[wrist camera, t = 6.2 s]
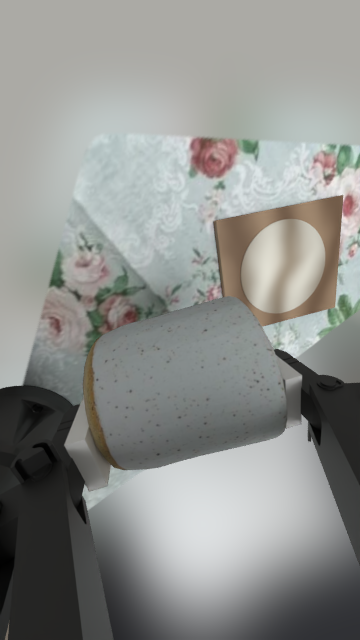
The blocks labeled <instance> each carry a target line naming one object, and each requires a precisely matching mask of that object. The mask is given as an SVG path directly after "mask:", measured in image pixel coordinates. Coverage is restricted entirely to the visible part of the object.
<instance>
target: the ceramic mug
mask: <svg viewBox="0 0 360 640" xmlns="http://www.w3.org/2000/svg"><path fill="white" fill-rule="evenodd" d="M83 394H84V403H85V411H86V416H87V421H88V425H89V428H90V431H91V434H92V437H93V439H94V442H95V444H96V447H97V448H98V450H99V451H100V453H101V454H102V456H103V457H104V458H105V459H106V460H107V462H109V463H110V464H111V465H112V466H113V467H114V468H118V469H122V470H139V469H151V468H158V467H162V466H165V465H169V464H172V463H175V462H179V461H183V460H186V459H190V458H194V457H198V456H201V455H205V454H210V453H214V452H219V451H223V450H228V449H232V448H237V447H241V446H245V445H249V444H253V443H258V442H262V441H266V440H269V439H273V438H276V437H278V436H279V435H281V434H282V433H283V432H284V430H285V428H286V424H287V414H288V412H287V400H286V395H285V389H284V383H283V378H282V374H281V370H280V367H279V363H278V359H277V357H276V354H275V352H274V349H273V347H272V345H271V343H270V341H269V339H268V338H267V336H266V334H265V332H264V330H263V328H262V326H261V324H260V322H259V321H258V319H257V317H256V316H255V315H254V314H253V313H252V312H251V310H250V309H249V308H248V307H247V306H246V305H245V304H244V303H243V302H242V301H241V300H239V299H238V298H236V297H232V296H227V297H222V298H219V299H215V300H212V301H208V302H205V303H201V304H198V305H194V306H191V307H187V308H183V309H180V310H176V311H173V312H170V313H166V314H163V315H160V316H157V317H154V318H150V319H146V320H142V321H137V322H133V323H130V324H127V325H123V326H121V327H119V328H116V329H114V330H112V331H110V332H108V333H106V334H104V335H102V336H101V337H99V338H98V339H97V340H96V341H95V342H94V344H93V345H92V347H91V349H90V351H89V353H88V356H87V359H86V363H85V367H84V379H83Z"/></svg>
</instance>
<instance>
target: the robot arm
mask: <svg viewBox="0 0 360 640" xmlns="http://www.w3.org/2000/svg"><path fill="white" fill-rule="evenodd" d="M274 352H275V354H276V357H277V359H278V363H279V367H280V370H281V374H282V378H283V383H284V389H285V395H286V400H287V412H288V414H287V424H286V429H287V428H290V427H293V426H297V425H300V424H301V414H302V415H303V416H304V417H305V418H306V419H307V420H308V441H311V437H312V439H313V442H314V445H315V448H316V450H317V453H318V456H319V458H320V461H321V463H322V466H323V469H324V472H325V474H326V477H327V479H328V482H329V485H330V488H331V490H332V493H333V495H334V498H335V501H336V504H337V506H338V509H339V512H340V514H341V517H342V519H343V522H344V525H345V527H346V530H347V533H348V535H349V538H350V541H351V544H352V546H353V549H354V552H355V554H356V557H357V560H358V562H359V565H360V383H344V382H343V381H341V380H339V379H338V378H335V377H332V376H328V375H318V374H316V373H315V372H314V371H312V370H311V369H309V368H308V367H307V366H305V365H304V364H302V363H301V362H299V361H298V360H297V359H295V358H293V357H292V356H291V355H290V354H288V353H287V352H284V351H282V350H279V349H275V350H274ZM110 466H111V464H110V463H109V462H107V460H106V459H105V458H104V457H103V456H102V454H101V453H100V451H99V450H98V448H97V447H96V444H95V442H94V439H93V437H92V434H91V431H90V428H89V425H88V421H87V416H86V411H85V403H84V396H83V399H82V401H81V404H79V405H75V406H72V405H71V404H70V403H69V402H68V401H67V400H66V399H64V398H63V397H61V396H60V395H58V394H56V393H54V392H51V391H49V390H46V389H43V388H38V387H32V386H12V387H6V388H2V389H0V640H5V636H6V632H7V628H8V624H9V634H8V640H113V635H112V630H111V625H110V620H109V615H108V610H107V605H106V600H105V596H104V590H103V586H102V581H101V576H100V571H99V566H98V561H97V556H96V551H95V546H94V541H93V536H92V531H91V526H90V521H89V517H88V511H87V507H86V502H85V500H84V498H83V496H82V492H83V488H84V484H85V485H86V486H87V488H88V490H89V492H90V491H93V490H97V489H100V488H103V487H106V486H108V480H109V473H110ZM9 620H10V622H9Z"/></svg>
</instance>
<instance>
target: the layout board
mask: <svg viewBox="0 0 360 640" xmlns="http://www.w3.org/2000/svg"><path fill="white" fill-rule="evenodd" d="M342 205H343V195H341V196H336V197H331V198H326V199H321V200H316V201H311V202H306V203H301V204H296V205H291V206H286V207H281V208H276V209H271V210H266V211H261V212H256V213H251V214H246V215H241V216H236V217H231V218H226V219H222V220H217V221H214V230H215V238H216V246H217V254H218V262H219V270H220V279H221V287H222V295H223V297H227V296H232V297H236V298H238V299H239V300H241V301H242V302H243V303H244V304H245V305H246V306H247V307H248V308H249V309H250V310H251V312H252V313H253V314H254V315H255V316H256V317H257V319H258V321H259V322H260V324H261V326H266V325H269V324H273V323H277V322H281V321H284V320H288V319H292V318H296V317H300V316H303V315H307V314H311V313H315V312H319V311H322V310H326V309H330V308H334V307H335V300H336V286H337V273H338V259H339V246H340V232H341V219H342Z"/></svg>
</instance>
